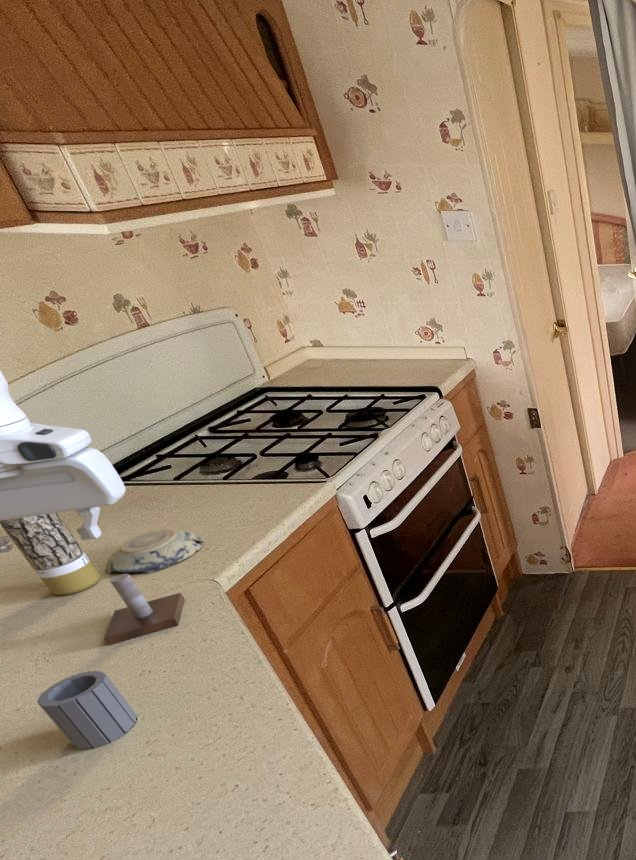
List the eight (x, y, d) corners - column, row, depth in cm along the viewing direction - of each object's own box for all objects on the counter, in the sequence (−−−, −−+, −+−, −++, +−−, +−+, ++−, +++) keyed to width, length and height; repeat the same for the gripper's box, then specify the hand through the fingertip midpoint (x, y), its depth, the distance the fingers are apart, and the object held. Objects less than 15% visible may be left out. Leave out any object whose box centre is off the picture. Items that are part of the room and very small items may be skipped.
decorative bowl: (103, 558, 133) (112, 586, 124) (92, 542, 131) (101, 569, 122) (196, 529, 142) (211, 553, 133) (188, 514, 140) (202, 537, 131)
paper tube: (66, 599, 121) (-27, 474, 108) (44, 593, 123) (-50, 469, 110) (110, 579, 126) (27, 457, 113) (88, 573, 128) (4, 452, 115)
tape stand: (108, 645, 109) (76, 600, 104) (119, 617, 116) (89, 574, 111) (178, 625, 113) (150, 581, 109) (185, 599, 120) (158, 556, 115)
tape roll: (68, 757, 89) (31, 713, 85) (80, 726, 94) (45, 683, 90) (132, 735, 92) (99, 692, 88) (141, 706, 97) (109, 664, 93)
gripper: (-144, 468, 79) (-71, 571, 85) (78, 442, 85) (130, 539, 92) (-103, 452, 84) (-38, 549, 90) (102, 429, 91) (150, 521, 97)
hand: (48, 544), depth 91 cm, fingers open, 8 cm apart
